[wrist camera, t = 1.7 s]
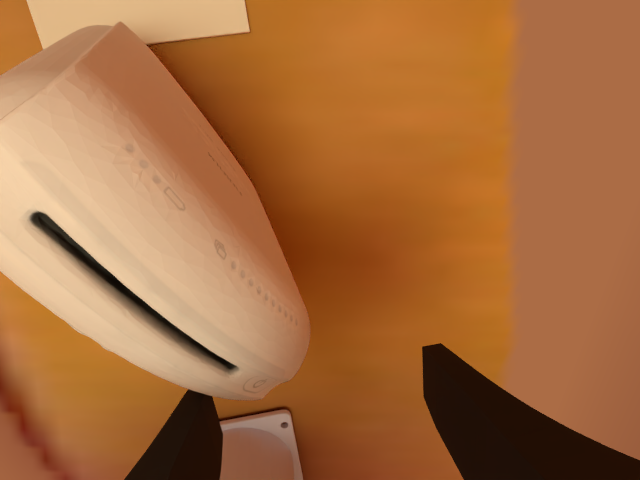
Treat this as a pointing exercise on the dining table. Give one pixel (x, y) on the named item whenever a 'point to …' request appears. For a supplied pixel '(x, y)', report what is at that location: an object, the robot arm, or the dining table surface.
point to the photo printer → (142, 220)
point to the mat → (141, 18)
